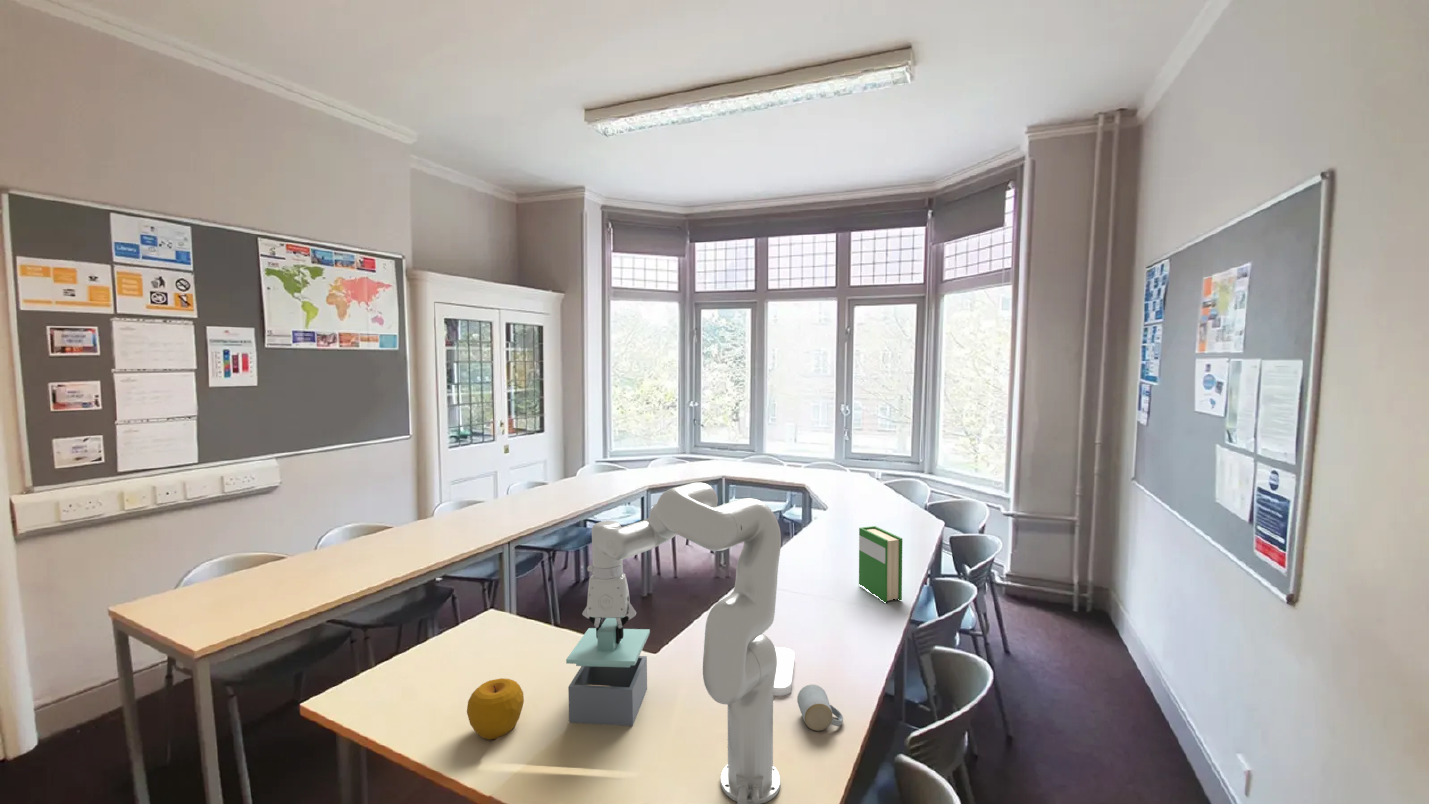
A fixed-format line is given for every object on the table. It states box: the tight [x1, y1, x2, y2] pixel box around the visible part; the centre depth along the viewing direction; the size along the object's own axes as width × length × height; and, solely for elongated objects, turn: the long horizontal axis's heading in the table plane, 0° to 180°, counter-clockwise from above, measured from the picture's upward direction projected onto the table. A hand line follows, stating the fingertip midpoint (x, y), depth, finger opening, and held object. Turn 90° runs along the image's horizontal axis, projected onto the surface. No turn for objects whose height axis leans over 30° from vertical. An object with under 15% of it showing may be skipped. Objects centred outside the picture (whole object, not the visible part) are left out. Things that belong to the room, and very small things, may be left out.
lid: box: [565, 618, 651, 667], centre depth 142 cm, size 17×17×8 cm
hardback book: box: [858, 525, 903, 603], centre depth 216 cm, size 18×7×24 cm, turn 18°
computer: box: [773, 646, 796, 697], centre depth 161 cm, size 22×22×3 cm
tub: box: [567, 655, 648, 727], centre depth 143 cm, size 16×16×10 cm
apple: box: [466, 677, 525, 741], centre depth 135 cm, size 13×13×11 cm
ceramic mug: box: [796, 684, 844, 732], centre depth 137 cm, size 11×8×8 cm
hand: (610, 640), depth 142 cm, fingers closed on lid, 4 cm apart
